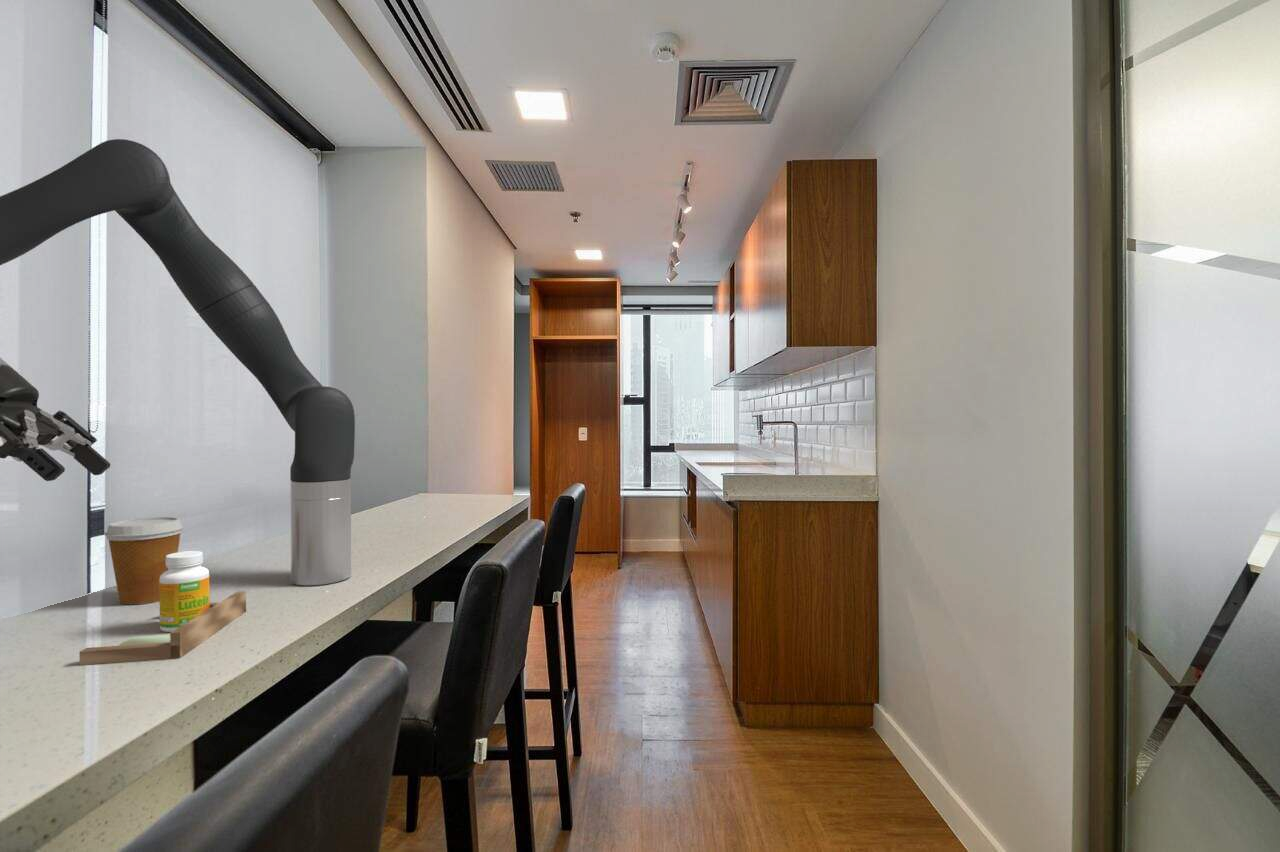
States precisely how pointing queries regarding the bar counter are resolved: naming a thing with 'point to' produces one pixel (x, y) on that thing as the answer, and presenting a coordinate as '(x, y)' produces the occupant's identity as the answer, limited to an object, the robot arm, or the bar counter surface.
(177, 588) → the supplement bottle
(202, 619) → the bay
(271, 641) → the bar counter surface
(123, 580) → the disposable coffee cup
